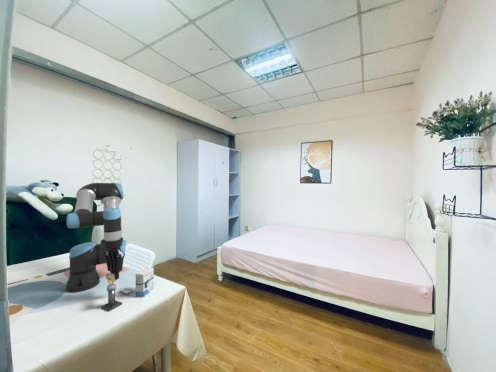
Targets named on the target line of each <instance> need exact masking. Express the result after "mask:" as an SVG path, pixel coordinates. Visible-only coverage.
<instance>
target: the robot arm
mask: <svg viewBox="0 0 496 372" xmlns="http://www.w3.org/2000/svg"><path fill="white" fill-rule="evenodd" d="M75 197H76V204H75V207H74V211H73V212H71V213H70V212H69V213H68V214H67V215H66V227H67V228H68V229H79V228H89V227H90V228H91V227H97V226H99V227H100V226H103V238H102V239H101V240H100V243H98V244H97V243H96V242H95V241H89V242H84V243H80V244H77V245H75V246H73V247H72V248H70V250H69V257H68V258H69V276H68V279H67V281H66V284H65V291H66V292H67V293H78V292H85V291H87V290H90V289H92V288H95V287H96V286H98V285H99V284H100V282H101V278H100V275H99V272H98V270H97V266H99V265H104V264H106V268H107V271H108V272H110V273H111V279H112V282H113V284H116V286H118V285H119V284H120V272H122V271H123V266H124V265H123V264H124V260H125V259H124V258H125V256H126V245H127V244H126V243H127V241H126V240H124V237H123V234H122V233H123V230H122V212H121V209H120V203H121V202H122V200H124V189H123V186H122V184H121V183H119V182H93V183H92V182H91V183H87V184H86V185H83V186H82V187H80V188H79V189H78V190H77V191H76V195H75ZM94 201H100V203H101V204H102V205H103V208H102V209H103V210H101V211H93V206H94Z"/></svg>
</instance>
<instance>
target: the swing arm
mask: <svg viewBox="0 0 496 372" xmlns="http://www.w3.org/2000/svg"><path fill="white" fill-rule="evenodd" d="M105 278H106V280H107V282H108V285H106V291H107V292H108V291H113V290H115V291H116V289H117V285H116V284H113V282H112V276H111V273H107V274H106V275H105Z"/></svg>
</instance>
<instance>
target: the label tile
mask: <svg viewBox="0 0 496 372" xmlns="http://www.w3.org/2000/svg"><path fill="white" fill-rule="evenodd" d="M134 292H135V291H134V290H132V289H128V288H125V289H122V290H121V291H119V292H118V293H119V294H121V295H124V296H126V297H127V296H128V295H130V294H131V295H132V293H134Z"/></svg>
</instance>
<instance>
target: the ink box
mask: <svg viewBox="0 0 496 372" xmlns="http://www.w3.org/2000/svg"><path fill="white" fill-rule="evenodd" d="M154 269H155V268H153V267H148V266H147V267H144V268H142V269H141V270H139V271H138V272H136V273H135V297H140V298H141V297H142V298H144V297H146V295H147V296H148V294H150V293H151V292H152V291H153V290H154V289H155V287H154V283H155V282H154V281H155V280H154V274H155V273H154V272H155V271H154Z"/></svg>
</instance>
